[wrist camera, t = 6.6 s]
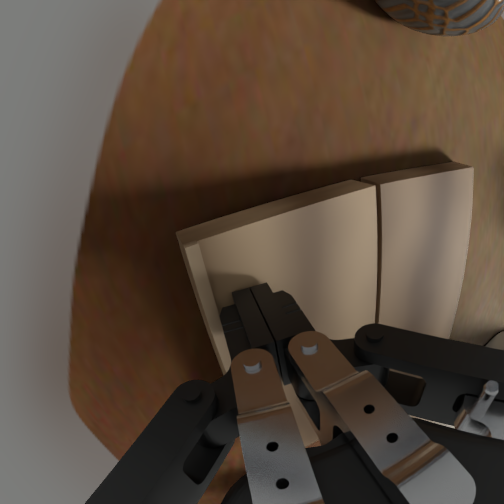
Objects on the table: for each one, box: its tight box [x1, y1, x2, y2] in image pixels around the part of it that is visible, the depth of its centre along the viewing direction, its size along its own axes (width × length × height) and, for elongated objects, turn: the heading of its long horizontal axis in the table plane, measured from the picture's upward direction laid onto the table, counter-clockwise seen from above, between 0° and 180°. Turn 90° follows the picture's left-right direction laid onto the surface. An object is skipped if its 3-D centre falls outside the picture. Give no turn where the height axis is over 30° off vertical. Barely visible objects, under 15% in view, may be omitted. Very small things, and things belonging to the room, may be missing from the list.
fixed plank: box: [361, 162, 474, 378], centre depth 18 cm, size 8×18×2 cm, turn 10°
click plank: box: [176, 180, 377, 447], centre depth 16 cm, size 9×18×2 cm, turn 10°
